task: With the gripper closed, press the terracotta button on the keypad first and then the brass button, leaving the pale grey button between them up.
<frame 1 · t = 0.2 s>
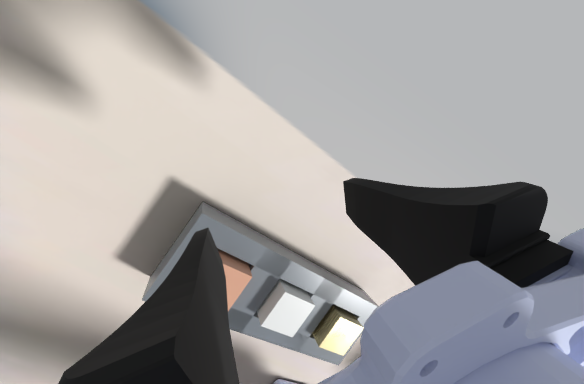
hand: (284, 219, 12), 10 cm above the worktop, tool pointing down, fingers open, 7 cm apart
grey key: (284, 304, 23), point 3 cm above the worktop, slide at 0.0 cm
terracotta key: (218, 276, 20), point 3 cm above the worktop, slide at 0.0 cm
brass key: (334, 325, 26), point 3 cm above the worktop, slide at 0.0 cm
keypad: (275, 285, 25), on the worktop
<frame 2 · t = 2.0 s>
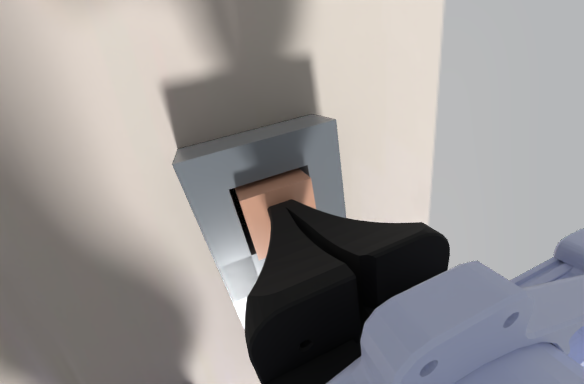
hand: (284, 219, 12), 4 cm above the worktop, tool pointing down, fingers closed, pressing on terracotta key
terracotta key: (275, 207, 14), point 3 cm above the worktop, slide at 0.4 cm, touching gripper
keypad: (286, 270, 19), on the worktop
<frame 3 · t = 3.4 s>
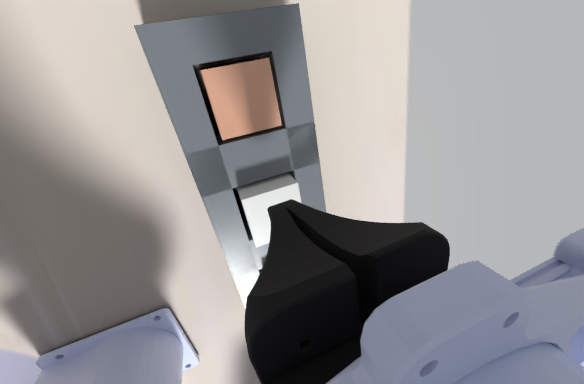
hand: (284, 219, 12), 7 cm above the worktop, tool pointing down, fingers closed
grey key: (270, 205, 17), point 3 cm above the worktop, slide at 0.0 cm
terracotta key: (240, 99, 15), point 2 cm above the worktop, slide at 1.1 cm
keypad: (261, 190, 19), on the worktop
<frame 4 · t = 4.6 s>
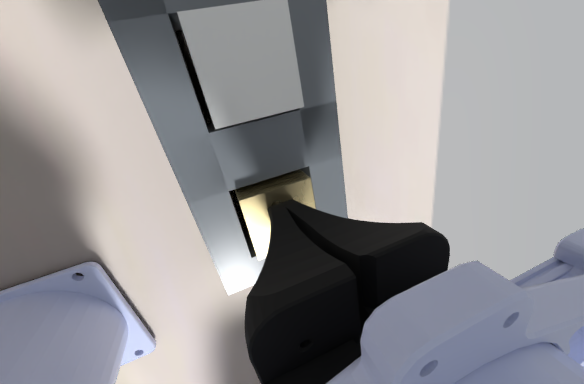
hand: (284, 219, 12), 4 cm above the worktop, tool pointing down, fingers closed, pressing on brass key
grey key: (242, 69, 10), point 3 cm above the worktop, slide at 0.0 cm
brass key: (275, 207, 14), point 2 cm above the worktop, slide at 0.6 cm, touching gripper
keypad: (233, 72, 12), on the worktop
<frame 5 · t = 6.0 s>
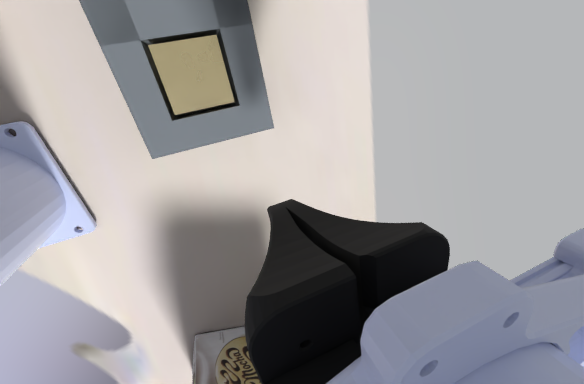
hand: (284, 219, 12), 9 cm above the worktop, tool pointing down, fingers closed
coffee box: (235, 344, 28), on the worktop
brass key: (195, 77, 15), point 2 cm above the worktop, slide at 1.1 cm
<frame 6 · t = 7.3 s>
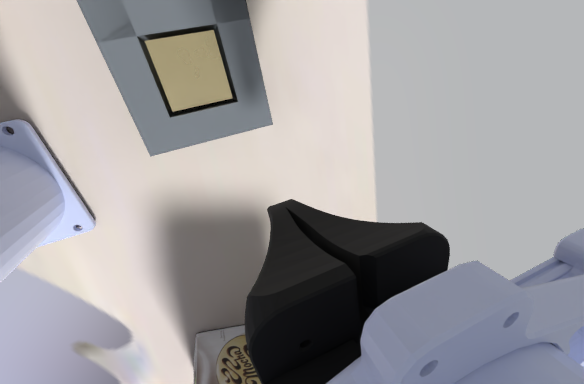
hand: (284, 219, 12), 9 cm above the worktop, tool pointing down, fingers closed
coffee box: (236, 343, 28), on the worktop
brass key: (193, 73, 15), point 2 cm above the worktop, slide at 1.1 cm
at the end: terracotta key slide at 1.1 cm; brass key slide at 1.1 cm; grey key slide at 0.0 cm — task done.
